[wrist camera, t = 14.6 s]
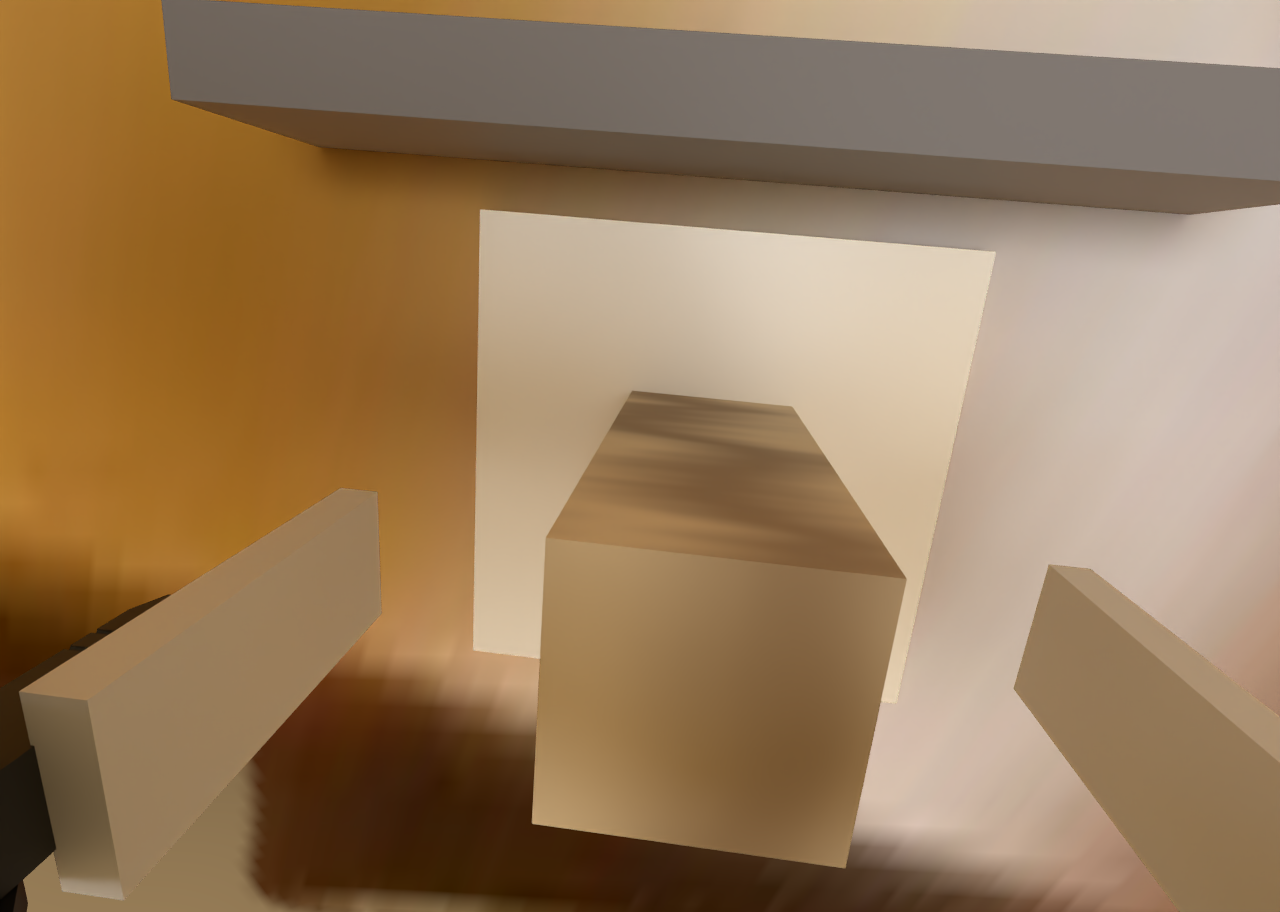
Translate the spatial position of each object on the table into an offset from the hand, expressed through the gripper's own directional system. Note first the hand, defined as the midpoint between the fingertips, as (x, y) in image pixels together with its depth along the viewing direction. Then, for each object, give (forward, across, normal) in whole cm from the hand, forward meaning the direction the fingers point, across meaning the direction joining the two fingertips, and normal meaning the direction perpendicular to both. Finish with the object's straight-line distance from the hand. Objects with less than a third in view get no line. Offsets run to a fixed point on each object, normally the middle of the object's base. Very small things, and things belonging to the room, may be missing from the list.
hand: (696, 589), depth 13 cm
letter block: (+8, 0, 0) cm, 9 cm away
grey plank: (+10, 0, +10) cm, 14 cm away
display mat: (+10, 0, 0) cm, 10 cm away
